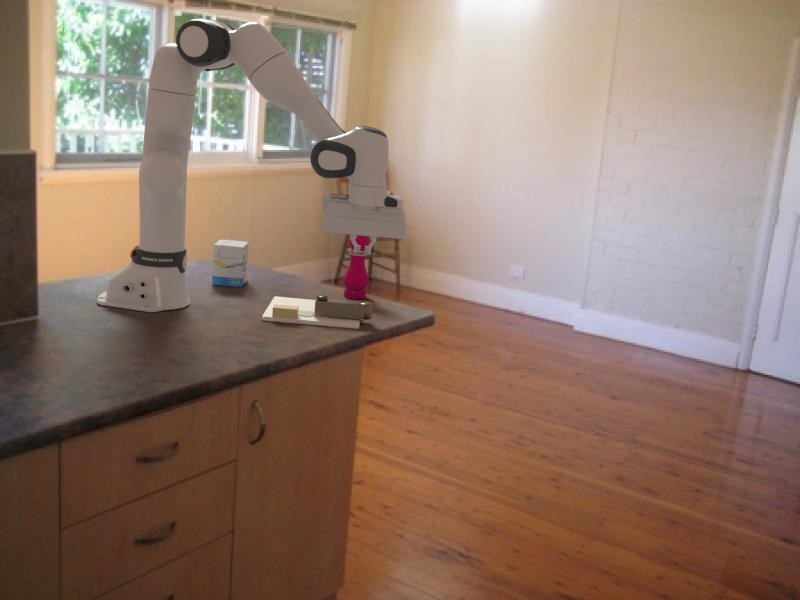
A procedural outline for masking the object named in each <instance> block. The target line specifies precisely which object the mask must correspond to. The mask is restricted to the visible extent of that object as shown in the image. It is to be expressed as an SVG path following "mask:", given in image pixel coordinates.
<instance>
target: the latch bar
mask: <svg viewBox="0 0 800 600" xmlns="http://www.w3.org/2000/svg"><path fill="white" fill-rule="evenodd" d="M314 300H315V313H314V315H317V316H328V317H340V318H351V319H361V320H362V321H363V320H365V321H367V320H368V321H369V320H372V315H373V314H372V313H373V303H372V302H371V301H366V300H364V301H363V300H357V299H340V298H332V297H331V298H329V297H328V296H327V295H324V294H317V295H316V298H315V299H314Z"/></svg>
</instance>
